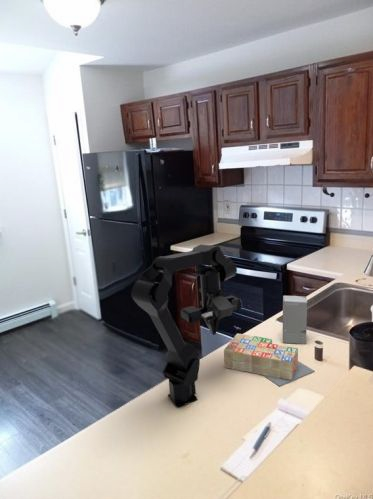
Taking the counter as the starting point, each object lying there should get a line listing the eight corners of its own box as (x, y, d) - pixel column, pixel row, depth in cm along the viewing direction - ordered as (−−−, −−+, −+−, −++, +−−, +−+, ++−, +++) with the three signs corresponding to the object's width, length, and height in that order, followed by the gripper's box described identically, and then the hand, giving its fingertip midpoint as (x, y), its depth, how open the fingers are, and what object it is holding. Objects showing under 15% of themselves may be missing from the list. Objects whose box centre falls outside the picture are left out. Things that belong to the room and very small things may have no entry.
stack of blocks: (291, 381, 110) (300, 360, 120) (291, 362, 108) (300, 343, 119) (224, 367, 120) (237, 349, 131) (223, 349, 119) (237, 332, 129)
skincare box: (282, 343, 133) (282, 301, 129) (282, 334, 140) (281, 294, 136) (307, 344, 131) (307, 302, 127) (306, 335, 138) (306, 294, 134)
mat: (279, 386, 108) (279, 385, 108) (245, 363, 122) (245, 362, 122) (314, 371, 114) (314, 370, 114) (279, 350, 128) (279, 349, 128)
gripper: (196, 301, 100) (200, 354, 104) (252, 286, 109) (254, 335, 112) (178, 290, 110) (182, 338, 114) (230, 277, 118) (232, 323, 122)
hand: (213, 334), depth 115 cm, fingers closed
